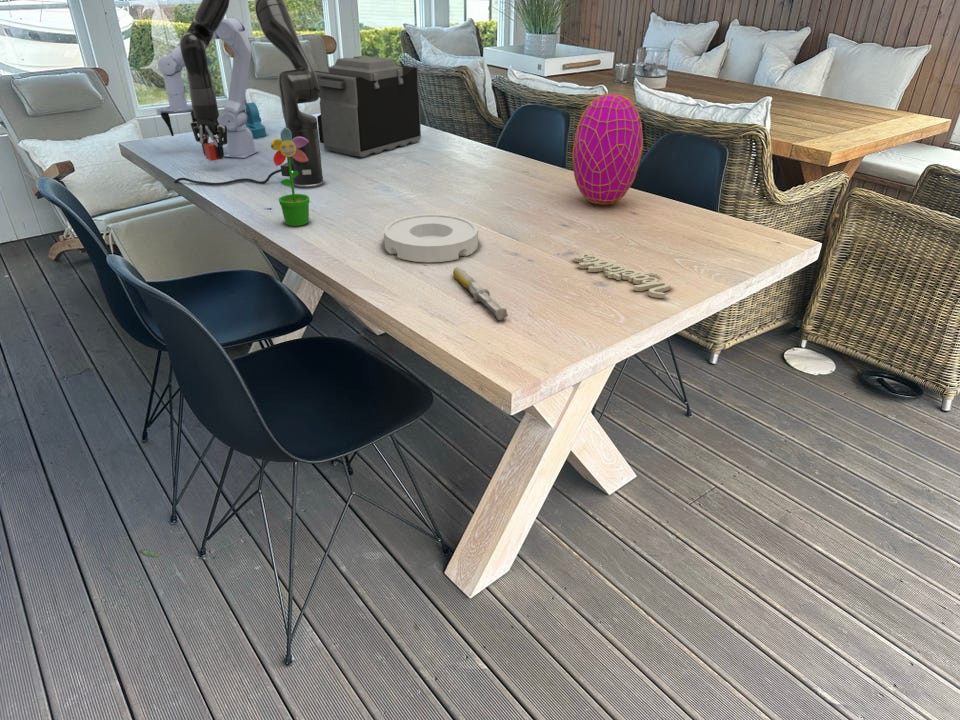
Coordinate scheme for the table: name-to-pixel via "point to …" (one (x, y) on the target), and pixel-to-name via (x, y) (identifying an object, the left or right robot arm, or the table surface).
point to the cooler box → (368, 106)
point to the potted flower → (291, 178)
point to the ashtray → (431, 237)
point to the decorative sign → (625, 274)
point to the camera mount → (254, 121)
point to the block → (210, 151)
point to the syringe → (479, 293)
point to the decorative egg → (607, 148)
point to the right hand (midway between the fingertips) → (214, 156)
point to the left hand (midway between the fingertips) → (184, 134)
